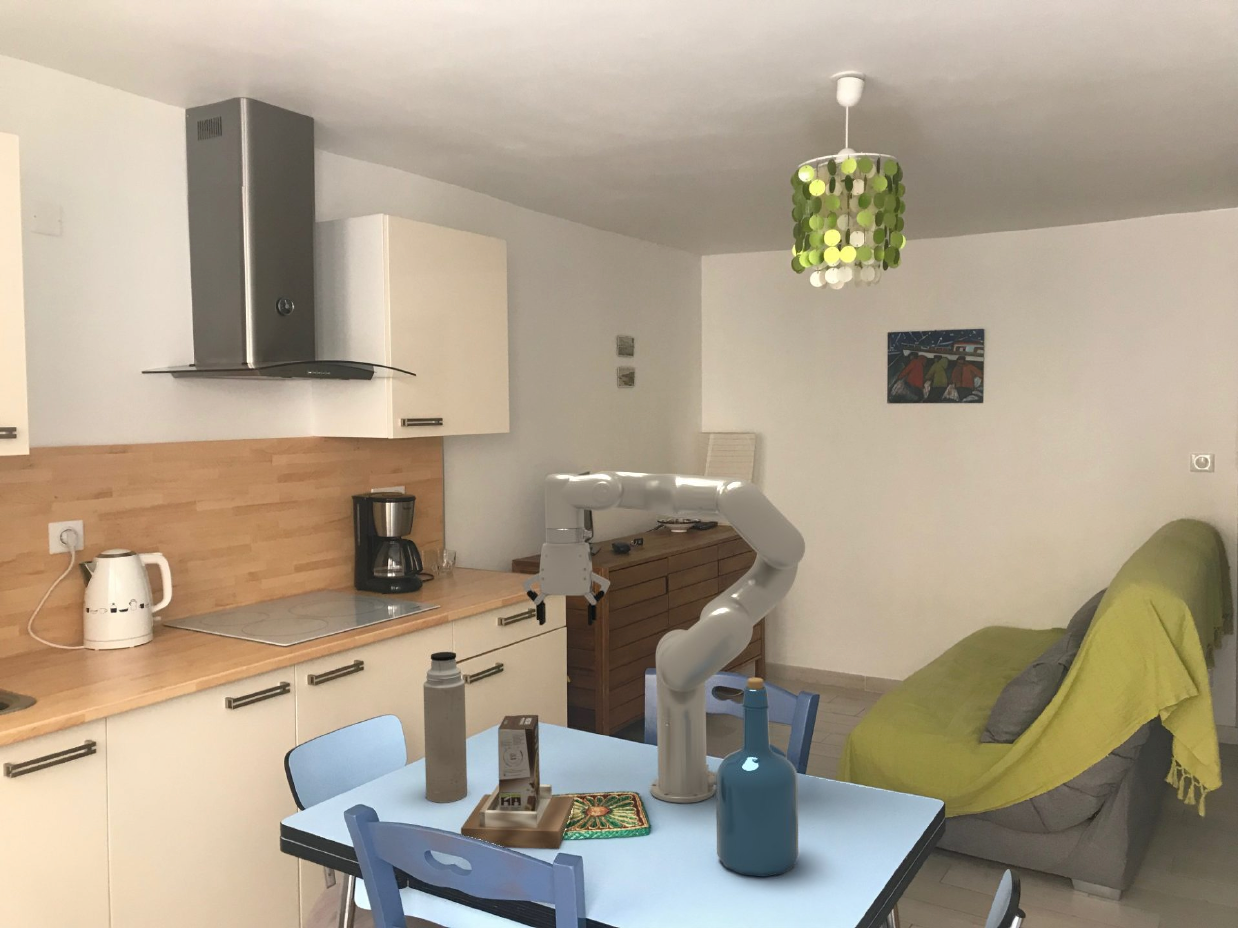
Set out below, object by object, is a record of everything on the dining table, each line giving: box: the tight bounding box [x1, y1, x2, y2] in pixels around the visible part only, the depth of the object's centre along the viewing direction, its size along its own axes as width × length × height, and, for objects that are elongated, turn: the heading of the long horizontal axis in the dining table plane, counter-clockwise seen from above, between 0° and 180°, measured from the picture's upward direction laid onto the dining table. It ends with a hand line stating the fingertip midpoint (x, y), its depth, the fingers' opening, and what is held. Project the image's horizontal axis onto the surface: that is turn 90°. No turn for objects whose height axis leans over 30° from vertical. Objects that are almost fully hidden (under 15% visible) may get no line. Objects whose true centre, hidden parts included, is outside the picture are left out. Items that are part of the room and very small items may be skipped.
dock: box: [460, 783, 575, 850], centre depth 175 cm, size 17×16×6 cm
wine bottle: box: [715, 677, 799, 877], centre depth 160 cm, size 14×13×30 cm
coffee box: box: [497, 714, 541, 812], centre depth 175 cm, size 9×6×16 cm
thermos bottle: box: [422, 651, 468, 804], centre depth 192 cm, size 8×8×28 cm
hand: (566, 624), depth 191 cm, fingers open, 9 cm apart
